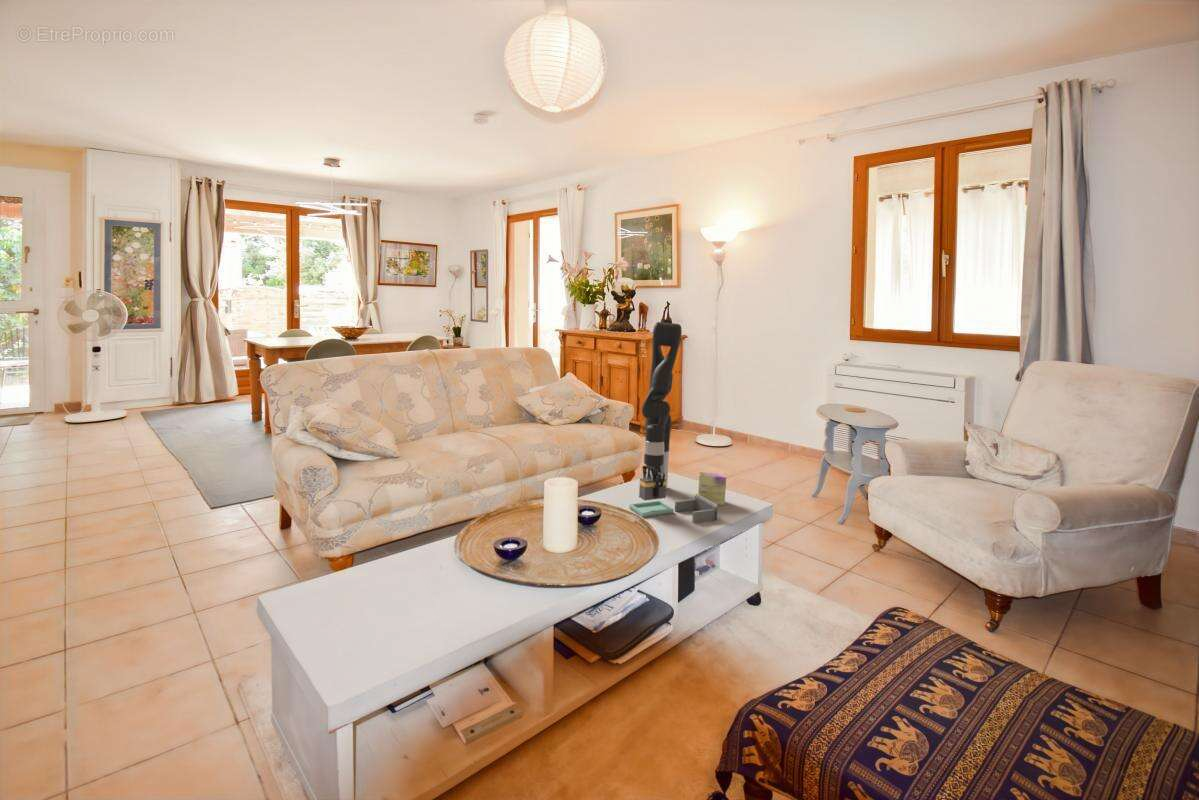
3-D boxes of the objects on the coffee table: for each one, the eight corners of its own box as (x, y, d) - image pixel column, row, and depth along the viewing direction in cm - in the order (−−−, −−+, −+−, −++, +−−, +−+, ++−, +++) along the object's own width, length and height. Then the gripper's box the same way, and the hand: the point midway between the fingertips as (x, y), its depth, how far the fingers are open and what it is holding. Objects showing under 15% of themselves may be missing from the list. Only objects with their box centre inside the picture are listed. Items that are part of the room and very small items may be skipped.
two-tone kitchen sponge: (659, 494, 233) (660, 476, 232) (665, 498, 229) (666, 479, 228) (638, 497, 229) (639, 478, 228) (644, 500, 225) (645, 481, 224)
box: (723, 500, 245) (725, 473, 243) (724, 505, 239) (726, 477, 237) (697, 499, 246) (699, 471, 244) (698, 503, 240) (700, 475, 238)
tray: (629, 508, 232) (629, 504, 232) (659, 504, 238) (659, 500, 237) (642, 517, 223) (642, 512, 222) (673, 513, 228) (673, 508, 228)
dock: (674, 510, 231) (675, 496, 230) (696, 508, 235) (697, 494, 234) (694, 523, 219) (694, 507, 218) (716, 519, 223) (717, 505, 222)
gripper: (672, 455, 222) (670, 499, 224) (653, 447, 234) (651, 489, 237) (654, 457, 219) (652, 501, 221) (636, 448, 231) (635, 490, 234)
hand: (652, 495), depth 229 cm, fingers closed on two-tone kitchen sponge, 4 cm apart
